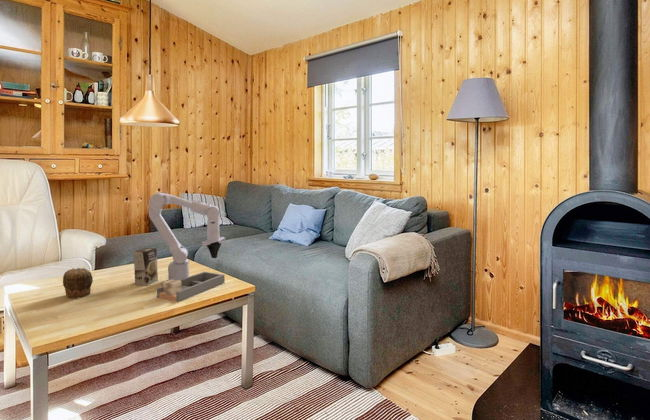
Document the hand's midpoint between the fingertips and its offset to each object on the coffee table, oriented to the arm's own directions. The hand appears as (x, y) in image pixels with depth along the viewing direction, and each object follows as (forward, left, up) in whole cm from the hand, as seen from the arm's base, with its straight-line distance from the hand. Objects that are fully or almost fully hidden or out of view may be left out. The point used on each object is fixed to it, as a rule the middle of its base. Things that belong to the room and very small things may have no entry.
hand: (214, 257), depth 200 cm
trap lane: (+3, -19, -10) cm, 22 cm away
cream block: (+3, -30, -8) cm, 31 cm away
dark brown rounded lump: (-35, -46, -11) cm, 59 cm away
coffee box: (-24, -20, -11) cm, 33 cm away
